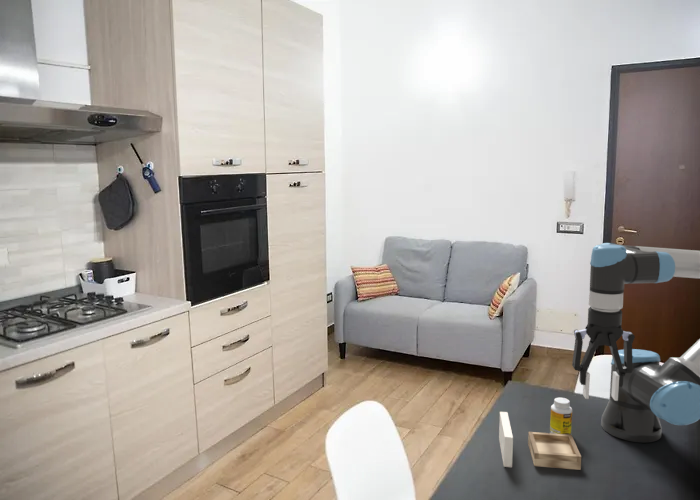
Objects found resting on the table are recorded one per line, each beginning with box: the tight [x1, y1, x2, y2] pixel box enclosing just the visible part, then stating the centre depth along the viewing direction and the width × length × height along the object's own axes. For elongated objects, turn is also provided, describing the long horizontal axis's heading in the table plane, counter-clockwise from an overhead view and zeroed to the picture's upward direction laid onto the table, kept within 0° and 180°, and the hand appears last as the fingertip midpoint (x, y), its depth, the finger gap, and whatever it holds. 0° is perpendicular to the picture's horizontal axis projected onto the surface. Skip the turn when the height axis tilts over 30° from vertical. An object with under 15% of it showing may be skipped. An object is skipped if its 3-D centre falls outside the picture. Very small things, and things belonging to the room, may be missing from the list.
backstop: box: [498, 411, 514, 468], centre depth 140 cm, size 2×14×8 cm, turn 169°
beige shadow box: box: [527, 431, 582, 471], centre depth 139 cm, size 11×11×4 cm
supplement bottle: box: [549, 397, 573, 435], centre depth 149 cm, size 6×6×10 cm
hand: (600, 397), depth 134 cm, fingers open, 6 cm apart
